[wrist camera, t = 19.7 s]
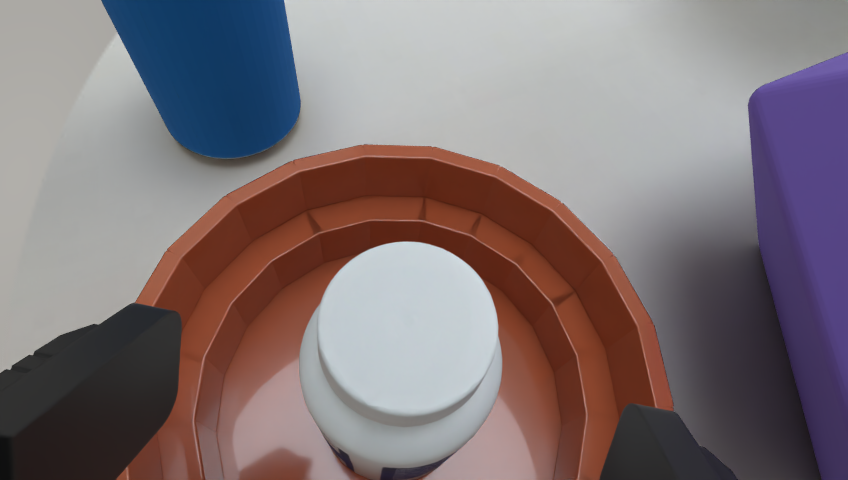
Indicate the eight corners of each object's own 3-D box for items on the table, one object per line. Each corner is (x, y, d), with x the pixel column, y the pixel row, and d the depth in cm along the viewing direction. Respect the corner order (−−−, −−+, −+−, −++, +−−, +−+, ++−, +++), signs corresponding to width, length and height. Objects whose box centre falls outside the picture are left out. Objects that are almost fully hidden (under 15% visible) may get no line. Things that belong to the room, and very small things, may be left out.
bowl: (216, 765, 16) (138, 890, 10) (149, 281, 22) (80, 207, 17) (673, 548, 19) (787, 558, 14) (498, 189, 26) (530, 105, 21)
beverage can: (248, 50, 29) (178, -221, 18) (328, 119, 27) (301, -136, 17) (142, 111, 26) (-11, -162, 16) (223, 192, 25) (112, -55, 14)
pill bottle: (478, 360, 21) (550, 250, 13) (443, 504, 19) (504, 490, 10) (349, 320, 21) (335, 186, 13) (298, 457, 19) (237, 403, 10)
